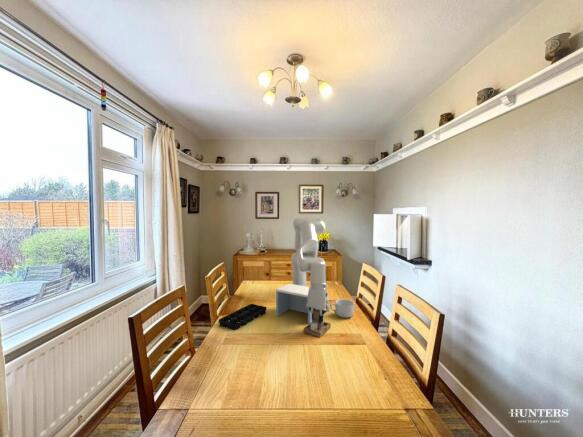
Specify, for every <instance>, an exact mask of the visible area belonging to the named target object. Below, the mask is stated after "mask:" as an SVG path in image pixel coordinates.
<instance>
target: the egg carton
mask: <svg viewBox="0 0 583 437" xmlns="http://www.w3.org/2000/svg"><path fill="white" fill-rule="evenodd" d="M266 312H267V307H266V306H263V305H258V304H254V303H250V304H248V305H245V306H243V307H241V308H239V309H237V310H235V311H233V312H231V313H229V314H227V315H225V316H223V317H221V318H218V324H219V327H221V328H228V329H229V330H232V331H237V330H240V329H241V327H243V326H246V325H247V324H248V323H250V322H251V323H252V322H253V321H254V320H255V319H258V318H259V317H261V316H262V315H265V314H266Z"/></svg>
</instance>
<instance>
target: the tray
mask: <svg viewBox="0 0 583 437" xmlns="http://www.w3.org/2000/svg"><path fill="white" fill-rule="evenodd" d="M319 315H320V310H319V309H315V310H314V314H313V322H311V323H310V324H308V323H307V325H305V326H304V327H303V334H304V333H305V334H308V335H311V336H315V337H318V338H321V337H322V336H324V335H325V334H326V333H327V332H328V330H330V329H331V323H330V322H327V321H325V317H324V316H323V322H322V323H320V324H319Z"/></svg>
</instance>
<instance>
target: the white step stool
mask: <svg viewBox="0 0 583 437" xmlns="http://www.w3.org/2000/svg"><path fill="white" fill-rule="evenodd" d="M309 287H310V286H307V285H306V286H300V285H294V284H293V283H287V284H286V285H282V286H280V287H278V288H276V290H275V298H276V299H275V316H277V317H279V316H281V315H282V314H283V313H286V312H287V311H289V310H291V311H297V312H301V313H305V314H307V325H308V324H310V323H311V322H312V314H311V311H310V310H309V308H307V307H306V304H307V299H308V291H309Z"/></svg>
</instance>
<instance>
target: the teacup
mask: <svg viewBox="0 0 583 437" xmlns="http://www.w3.org/2000/svg"><path fill="white" fill-rule="evenodd" d="M332 306H334V308H332ZM329 308H330V311H333V312H334V314H336V315H338V316H339V317H340V318H343V319H348V318H350V317H352V316H353V315H354V312H355V302H354V301H352V300H350V299H345V298H340V299H336V300H335V302H331V303H330V304H329Z"/></svg>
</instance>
